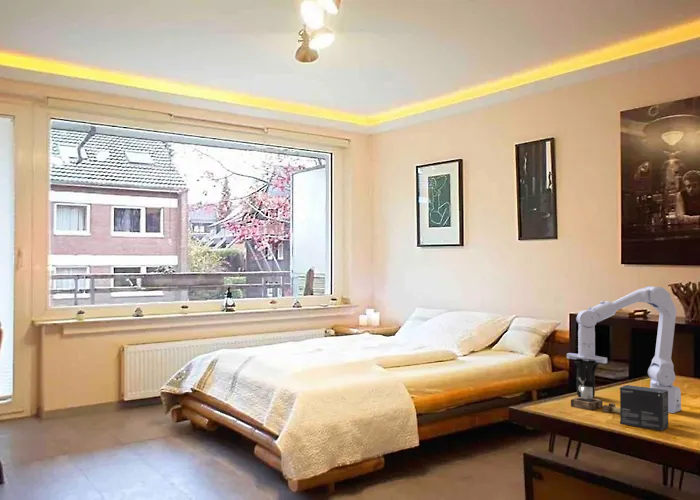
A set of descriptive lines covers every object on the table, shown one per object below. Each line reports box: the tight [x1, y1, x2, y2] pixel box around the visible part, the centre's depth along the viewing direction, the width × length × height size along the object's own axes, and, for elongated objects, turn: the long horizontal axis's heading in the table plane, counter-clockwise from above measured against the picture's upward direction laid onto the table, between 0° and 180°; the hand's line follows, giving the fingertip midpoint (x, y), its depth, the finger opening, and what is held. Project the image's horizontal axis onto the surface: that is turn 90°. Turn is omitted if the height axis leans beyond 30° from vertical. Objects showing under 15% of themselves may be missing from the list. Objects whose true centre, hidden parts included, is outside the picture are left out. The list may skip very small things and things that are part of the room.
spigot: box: [581, 386, 594, 402], centre depth 223 cm, size 4×4×7 cm
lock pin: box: [610, 406, 620, 414], centre depth 213 cm, size 9×2×4 cm, turn 42°
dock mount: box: [570, 396, 616, 414], centre depth 220 cm, size 13×8×2 cm, turn 42°
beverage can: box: [576, 367, 596, 398], centre depth 239 cm, size 7×7×12 cm
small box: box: [619, 384, 669, 432], centre depth 197 cm, size 13×7×12 cm, turn 48°
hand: (586, 380), depth 222 cm, fingers closed
